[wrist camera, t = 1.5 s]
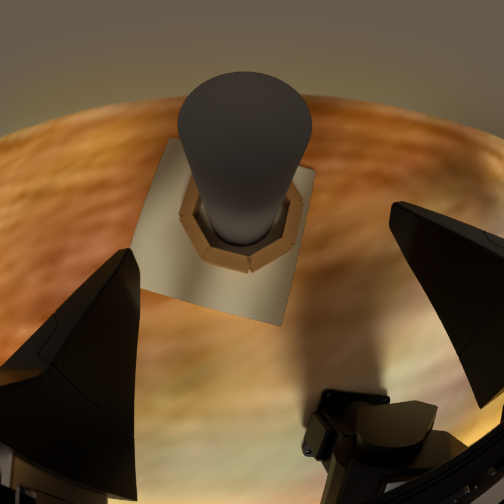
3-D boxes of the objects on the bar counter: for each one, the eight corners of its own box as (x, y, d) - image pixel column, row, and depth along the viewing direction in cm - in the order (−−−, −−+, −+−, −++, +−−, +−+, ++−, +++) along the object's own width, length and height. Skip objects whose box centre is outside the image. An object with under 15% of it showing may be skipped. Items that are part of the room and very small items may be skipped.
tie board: (314, 173, 24) (321, 160, 22) (280, 325, 22) (285, 328, 20) (171, 140, 24) (165, 125, 22) (122, 281, 22) (110, 279, 20)
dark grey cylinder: (279, 194, 23) (319, 87, 10) (265, 254, 22) (298, 193, 10) (219, 179, 23) (203, 64, 10) (201, 237, 22) (157, 160, 9)
